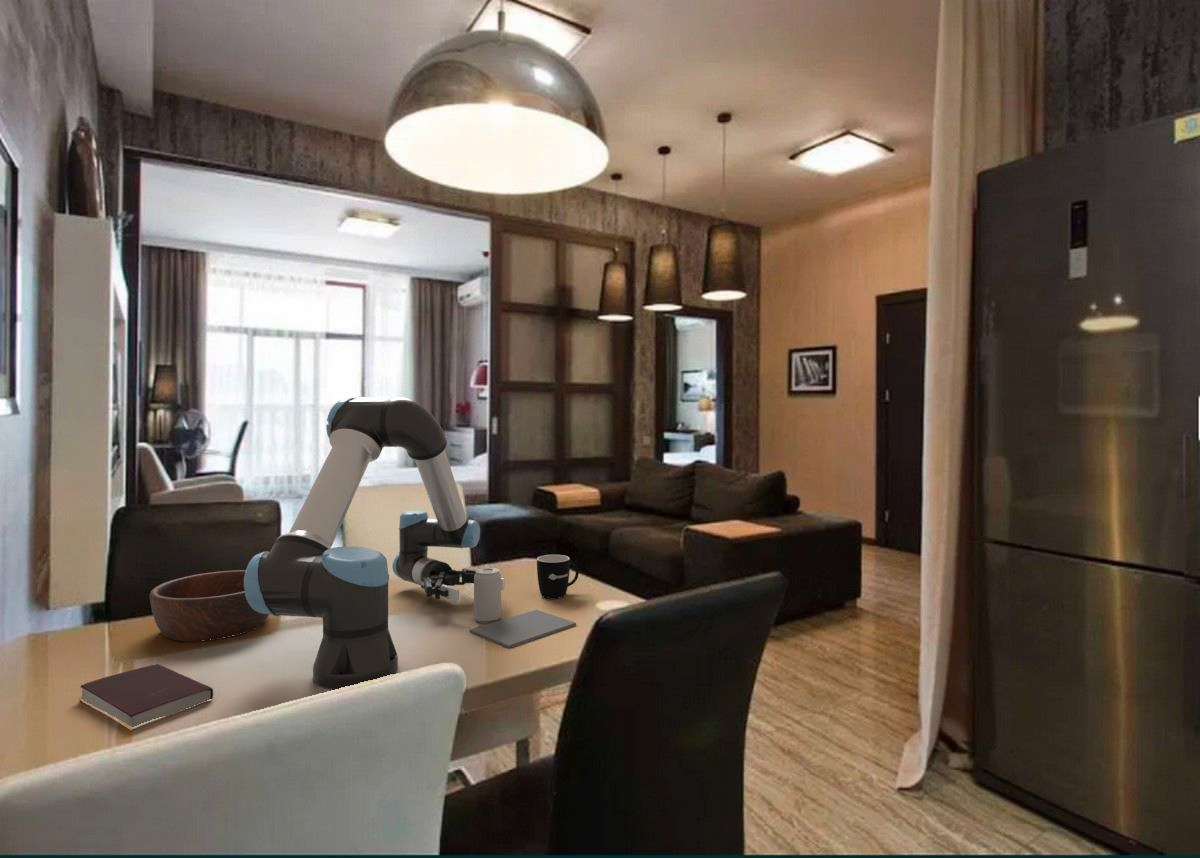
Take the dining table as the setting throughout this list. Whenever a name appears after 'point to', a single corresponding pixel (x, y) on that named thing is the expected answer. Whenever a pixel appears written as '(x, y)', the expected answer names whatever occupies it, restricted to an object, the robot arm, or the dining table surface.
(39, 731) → the dining table surface
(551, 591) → the mug
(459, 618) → the dining table surface
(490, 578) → the beverage can
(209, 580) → the wooden bowl
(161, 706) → the book
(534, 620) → the mat
